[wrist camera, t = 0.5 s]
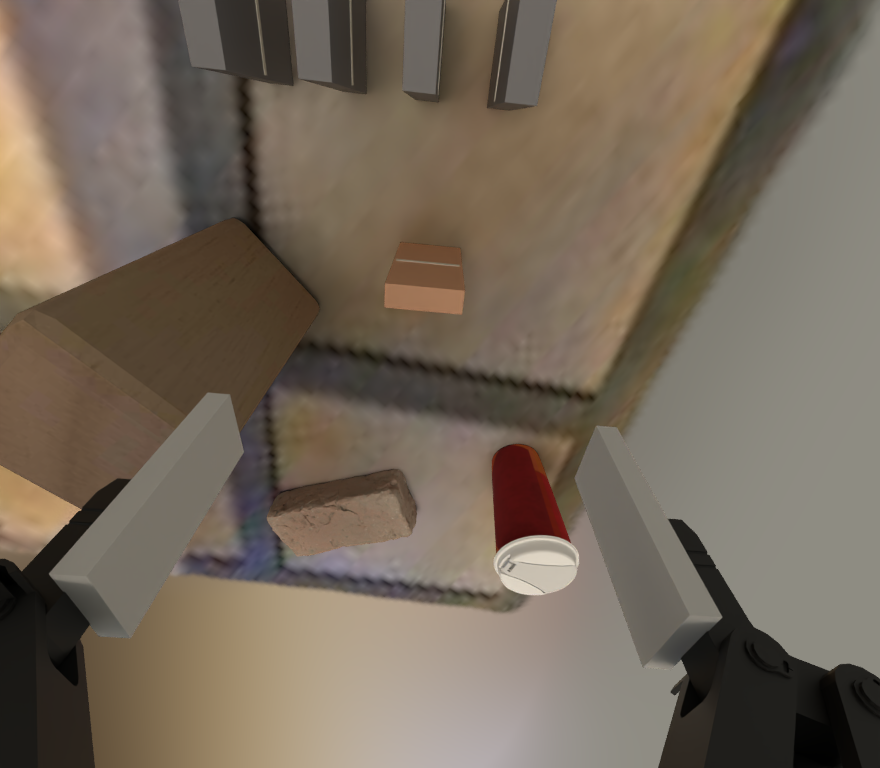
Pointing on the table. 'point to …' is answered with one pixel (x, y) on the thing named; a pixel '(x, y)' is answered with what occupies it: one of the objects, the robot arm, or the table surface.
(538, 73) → the domino
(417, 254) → the head domino
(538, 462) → the paper cup
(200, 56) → the domino
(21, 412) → the wooden block
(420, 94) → the domino
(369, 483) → the brick
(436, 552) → the table surface
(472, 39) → the table surface
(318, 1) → the domino
